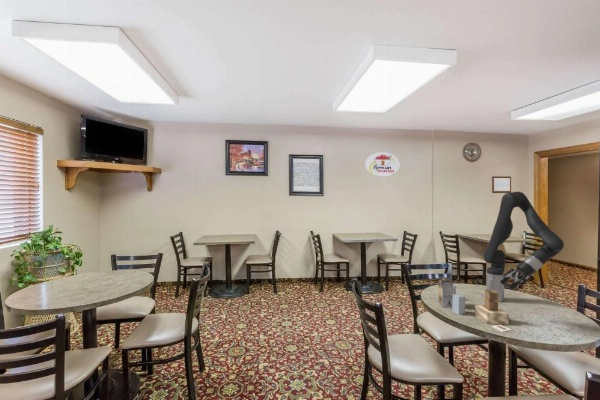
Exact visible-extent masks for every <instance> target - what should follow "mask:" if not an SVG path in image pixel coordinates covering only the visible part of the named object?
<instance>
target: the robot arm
mask: <svg viewBox="0 0 600 400" xmlns="http://www.w3.org/2000/svg"><path fill="white" fill-rule="evenodd" d="M515 208H519V209H520V210H521V211H522V212H523V214H524V216H525V218H526V224H527V225H528V227H529V229H530V230H531V232H533V234H534V236H536V237H537V238H540V239H541V240H542V241H543V242H544V245H542V246H541V247H540V248H538V249H536V250H534V251H533V252H532V253H531V254H530V255H528V256H527V257H525V258H524V259H523V260H521V261H520V262H519V263H518V264H517V265H515V266H516V269H514V268H510V269H509V270H507V272H505V269H506V268H505V267H506V253H505V252H504V250H502V249H499V246H500V245H502V244H503V243H505V242H506V241H507V240H508V239H509V238H510V236H511V234H512V232H513V228H514V223H513V221H512V212H513V211H514V209H515ZM564 247H565V243H564V240H562V238H561V237H560V236H559V235H558V234H557V233H555V232H554V231H552V230H551V229H550V228H549V226H548V225H547V224H546V223H545V222H544V221H543V219H542V218H541V217H540V216H539V214H538V212H537V211H536V209H535V208H534V206H533V205H532V203H531V202H530V200H529V198H528V197H527V195H525V193H524V192H522V191H511V192H507V193H504V194H503V195H502V197H501V201H500V205H499V212H498V214H497V218H496V221H495V224H494V226H493V230H492V232H491V236H490V240H489V242H488V244H487V246H486V248H485V250H484V253H483V259H484V262H486V263H487V264H492V266H489V267H487V268H486V283H485V284H486V286H485V287H486V289H485V290H495V291H496V292H498V303H499V302H503V301H504V300H505V284H506V283H508V281H510V280H514V281H513V282H511V283H510V284H509V285H508V288H509V289H511V290H514V289H515V288H516V287H517V286H523V285H525V284H526V283H527V282H528V281H529V280H530V279H531V276H533V275H534V274H535V273H536V272H537V271H538V270H540V269H541V268H542V267H543V266H544V265H545V264H546V263H547V262H549V261H550V260H551V259H552V258H553V257H555V256H557V255H558V254H559V253H561V251H562V250H563V249H564Z"/></svg>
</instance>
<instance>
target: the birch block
mask: <svg viewBox="0 0 600 400" xmlns="http://www.w3.org/2000/svg"><path fill="white" fill-rule="evenodd" d="M474 306H475V307H474V308H475V309H474V313H475V314H474V316H475V317H477V318H478V319H479V320H480V321H483V322H484V323H485V324H489V325H490V324H491V325H509V312H507V311H505V310H503V309H501V308H499V307H498V311H489V310H488V309H486V308H485V304H483V305H482V304H481V305H477V304H476V305H474Z"/></svg>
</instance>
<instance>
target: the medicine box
mask: <svg viewBox="0 0 600 400" xmlns="http://www.w3.org/2000/svg"><path fill="white" fill-rule="evenodd" d="M454 294H457V286H456V285H455V284H453V295H454Z"/></svg>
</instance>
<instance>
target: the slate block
mask: <svg viewBox="0 0 600 400" xmlns="http://www.w3.org/2000/svg"><path fill="white" fill-rule="evenodd" d="M451 311H452V312H453V313H454V314H457V315H459V316H460V315H465V313H466V296H465V295H462V294H459V293H456V294H454V295H453V305H452V310H451Z"/></svg>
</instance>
